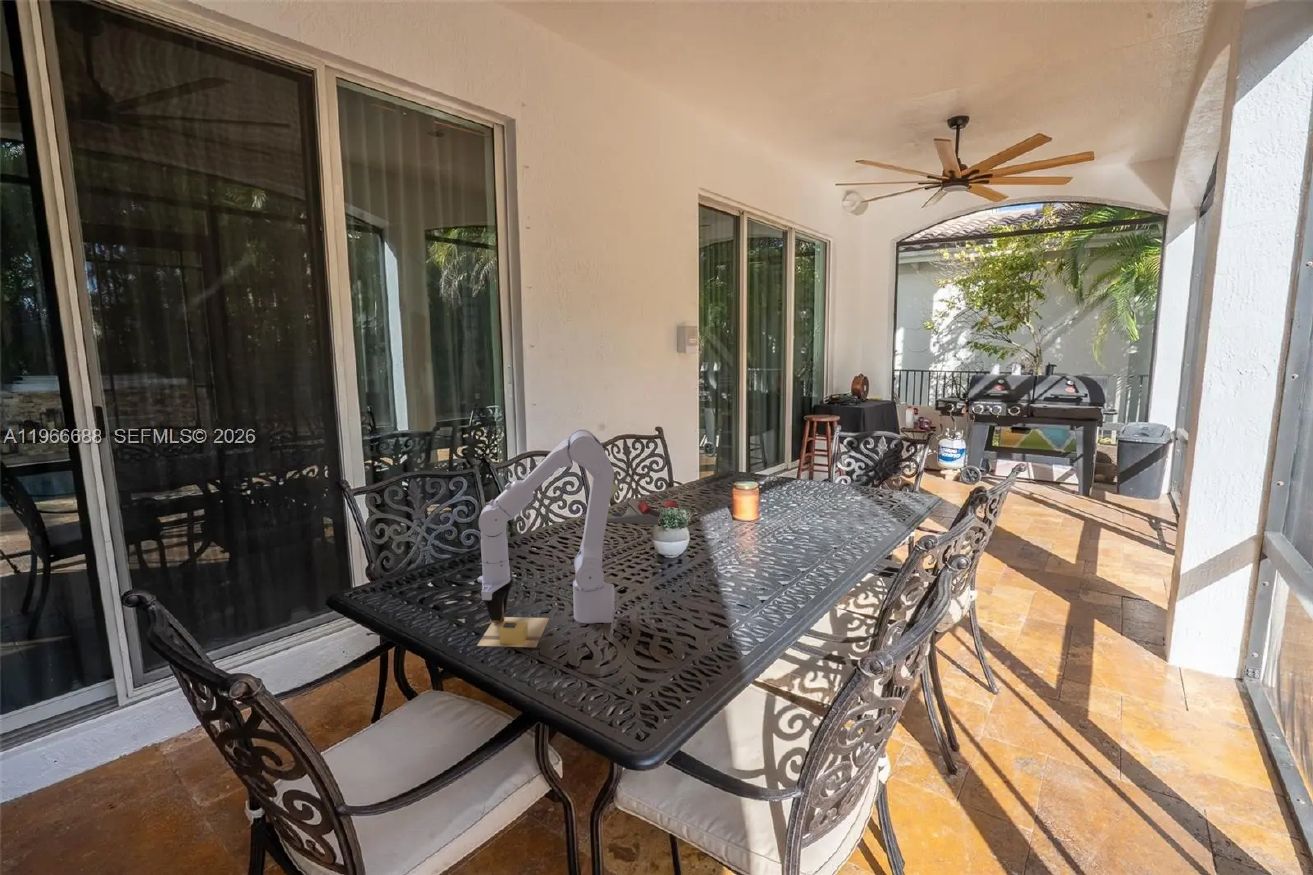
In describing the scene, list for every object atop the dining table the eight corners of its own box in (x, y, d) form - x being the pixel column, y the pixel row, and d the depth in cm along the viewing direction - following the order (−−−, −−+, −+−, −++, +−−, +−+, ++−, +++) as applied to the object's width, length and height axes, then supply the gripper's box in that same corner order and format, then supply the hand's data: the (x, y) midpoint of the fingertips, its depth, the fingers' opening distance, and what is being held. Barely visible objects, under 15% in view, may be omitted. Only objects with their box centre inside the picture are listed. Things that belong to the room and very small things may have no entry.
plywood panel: (549, 622, 141) (549, 618, 140) (536, 652, 128) (536, 647, 128) (495, 621, 141) (495, 616, 141) (477, 651, 128) (476, 645, 128)
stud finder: (528, 634, 133) (527, 620, 132) (523, 644, 129) (522, 629, 128) (505, 634, 133) (504, 620, 132) (499, 643, 129) (499, 629, 128)
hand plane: (593, 516, 221) (592, 476, 218) (679, 519, 218) (679, 478, 215) (589, 522, 214) (588, 480, 212) (677, 525, 211) (678, 483, 208)
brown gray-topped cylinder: (505, 618, 139) (504, 593, 138) (502, 623, 136) (501, 598, 135) (494, 617, 139) (492, 593, 138) (490, 623, 137) (489, 598, 135)
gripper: (487, 547, 142) (490, 601, 145) (465, 571, 128) (469, 631, 131) (517, 547, 142) (520, 602, 145) (499, 572, 128) (502, 632, 130)
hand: (498, 616), depth 138 cm, fingers closed on brown gray-topped cylinder, 3 cm apart
